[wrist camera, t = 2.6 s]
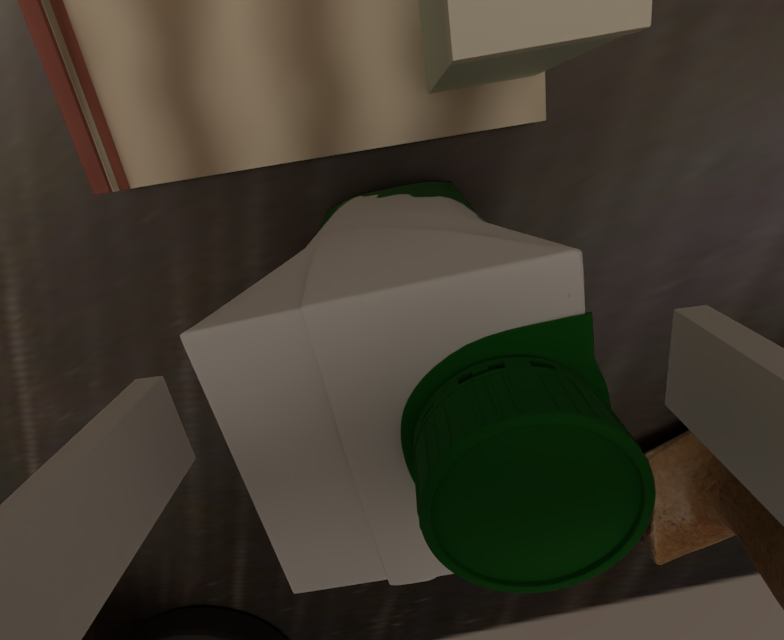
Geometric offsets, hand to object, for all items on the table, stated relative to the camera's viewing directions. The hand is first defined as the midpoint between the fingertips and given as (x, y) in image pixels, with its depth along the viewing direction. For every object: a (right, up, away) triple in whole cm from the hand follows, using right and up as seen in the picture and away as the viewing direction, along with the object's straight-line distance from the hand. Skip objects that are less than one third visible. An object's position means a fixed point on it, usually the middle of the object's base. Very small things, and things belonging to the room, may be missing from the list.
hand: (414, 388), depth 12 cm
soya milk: (0, +6, +15) cm, 16 cm away
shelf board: (-5, +15, +11) cm, 19 cm away
